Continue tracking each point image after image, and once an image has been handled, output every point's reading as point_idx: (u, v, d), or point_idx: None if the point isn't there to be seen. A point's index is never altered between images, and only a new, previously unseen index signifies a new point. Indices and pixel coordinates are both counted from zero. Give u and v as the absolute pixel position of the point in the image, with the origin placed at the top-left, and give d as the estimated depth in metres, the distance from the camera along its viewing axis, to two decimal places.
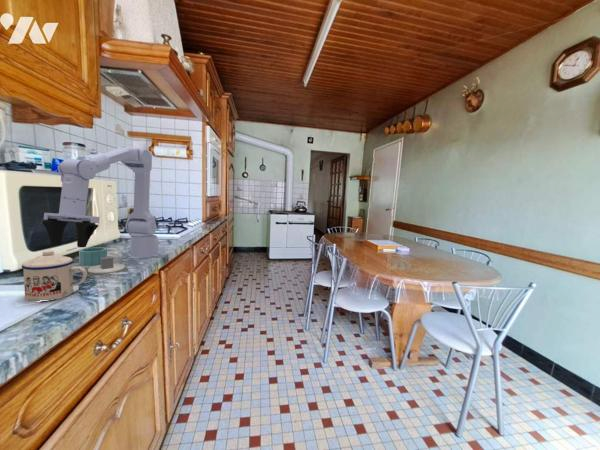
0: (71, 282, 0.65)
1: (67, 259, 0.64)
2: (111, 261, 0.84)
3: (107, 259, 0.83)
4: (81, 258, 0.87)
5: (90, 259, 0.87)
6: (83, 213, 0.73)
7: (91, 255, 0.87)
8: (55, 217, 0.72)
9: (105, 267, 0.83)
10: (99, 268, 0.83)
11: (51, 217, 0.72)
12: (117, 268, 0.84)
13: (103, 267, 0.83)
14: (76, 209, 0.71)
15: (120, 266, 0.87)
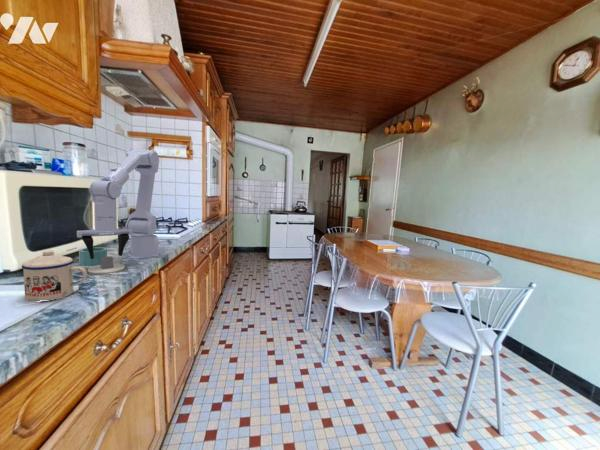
0: (71, 282, 0.65)
1: (67, 259, 0.64)
2: (111, 261, 0.84)
3: (107, 259, 0.83)
4: (81, 258, 0.87)
5: (90, 259, 0.87)
6: None
7: None
8: (88, 234, 0.80)
9: (105, 267, 0.83)
10: (99, 268, 0.83)
11: (84, 234, 0.79)
12: (117, 268, 0.84)
13: (103, 267, 0.83)
14: (115, 225, 0.84)
15: (120, 266, 0.87)
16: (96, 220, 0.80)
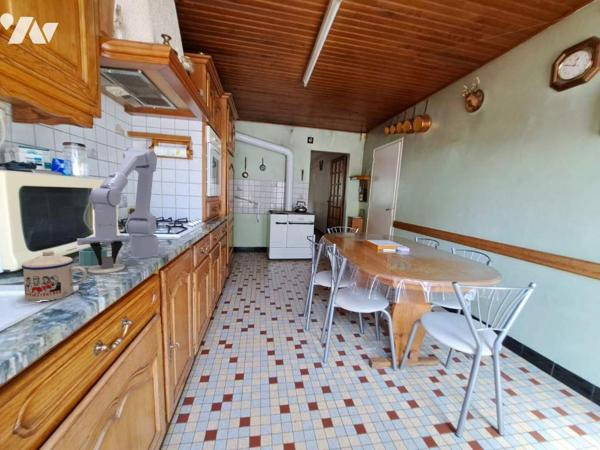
0: (71, 282, 0.65)
1: (67, 259, 0.64)
2: (111, 261, 0.84)
3: (107, 259, 0.83)
4: (81, 258, 0.87)
5: (90, 259, 0.87)
6: None
7: (91, 255, 0.87)
8: (89, 241, 0.80)
9: (105, 267, 0.83)
10: (99, 268, 0.83)
11: (84, 242, 0.79)
12: (117, 268, 0.84)
13: (103, 267, 0.83)
14: (115, 232, 0.84)
15: (120, 266, 0.87)
16: (96, 228, 0.80)
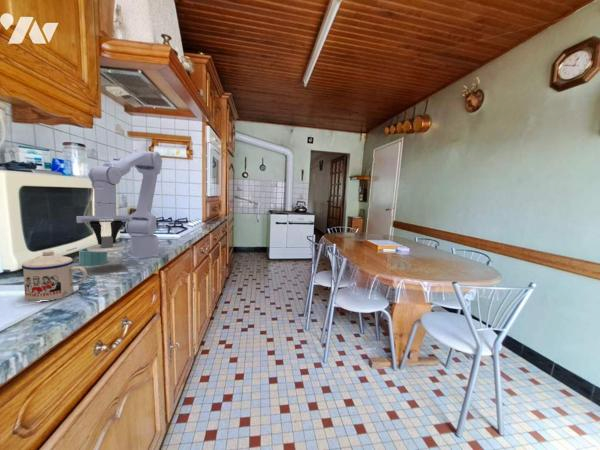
0: (71, 282, 0.65)
1: (67, 259, 0.64)
2: (111, 240, 0.83)
3: (107, 238, 0.82)
4: (81, 258, 0.87)
5: (90, 259, 0.87)
6: None
7: (91, 255, 0.87)
8: (88, 220, 0.79)
9: (105, 246, 0.82)
10: (99, 247, 0.82)
11: (83, 220, 0.78)
12: (117, 248, 0.83)
13: (103, 246, 0.82)
14: (115, 211, 0.83)
15: (120, 246, 0.86)
16: (96, 206, 0.80)
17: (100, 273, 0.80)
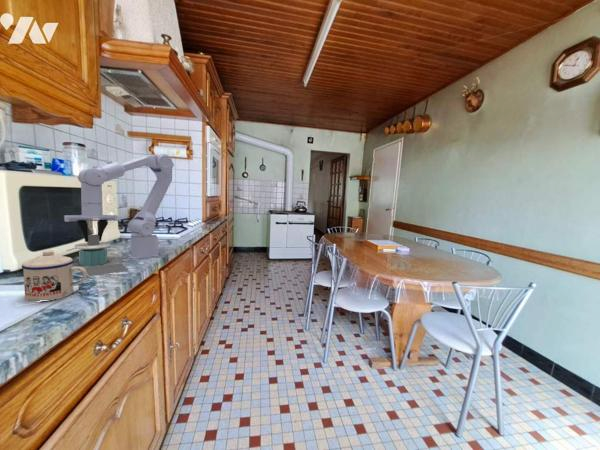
0: (71, 282, 0.65)
1: (67, 259, 0.64)
2: (97, 238, 0.89)
3: (93, 236, 0.88)
4: (81, 258, 0.87)
5: (90, 259, 0.87)
6: None
7: (91, 255, 0.87)
8: (75, 219, 0.85)
9: (91, 244, 0.88)
10: (86, 245, 0.88)
11: (71, 219, 0.84)
12: (103, 245, 0.89)
13: (89, 244, 0.88)
14: (101, 211, 0.89)
15: (106, 244, 0.92)
16: (82, 206, 0.86)
17: (100, 273, 0.80)
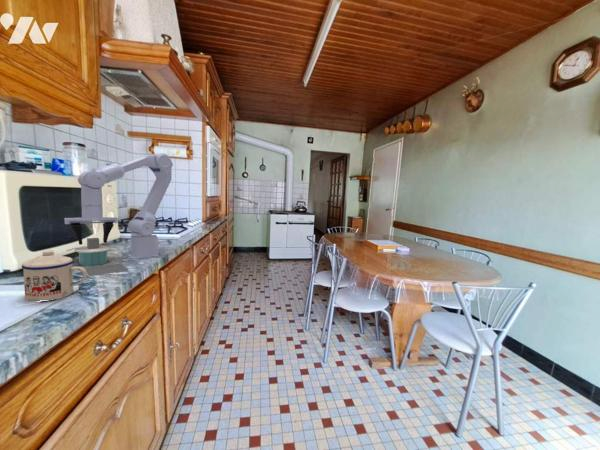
0: (71, 282, 0.65)
1: (67, 259, 0.64)
2: (97, 242, 0.89)
3: (93, 240, 0.88)
4: (81, 258, 0.87)
5: (90, 259, 0.87)
6: None
7: (91, 255, 0.87)
8: (75, 221, 0.85)
9: (91, 247, 0.88)
10: (86, 248, 0.88)
11: (71, 221, 0.84)
12: (103, 248, 0.90)
13: (89, 247, 0.88)
14: (101, 213, 0.89)
15: (106, 247, 0.92)
16: (83, 208, 0.86)
17: (100, 273, 0.80)
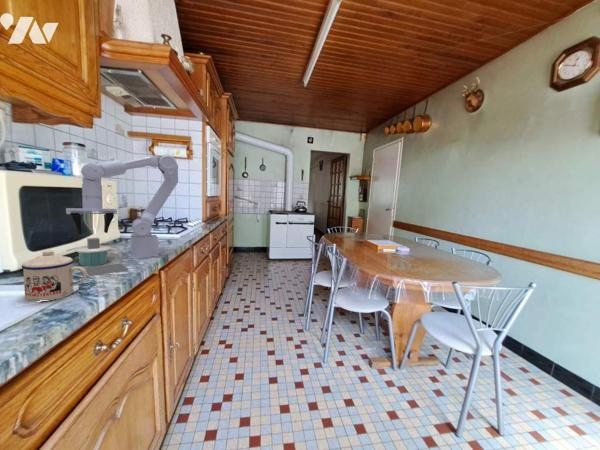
0: (71, 282, 0.65)
1: (67, 259, 0.64)
2: (97, 242, 0.89)
3: (93, 240, 0.89)
4: (81, 258, 0.87)
5: (90, 259, 0.87)
6: None
7: (91, 255, 0.87)
8: (76, 211, 0.90)
9: (92, 247, 0.88)
10: (86, 248, 0.88)
11: (72, 212, 0.89)
12: (103, 248, 0.90)
13: (90, 247, 0.88)
14: (101, 205, 0.94)
15: (106, 247, 0.92)
16: (83, 199, 0.90)
17: (100, 273, 0.80)
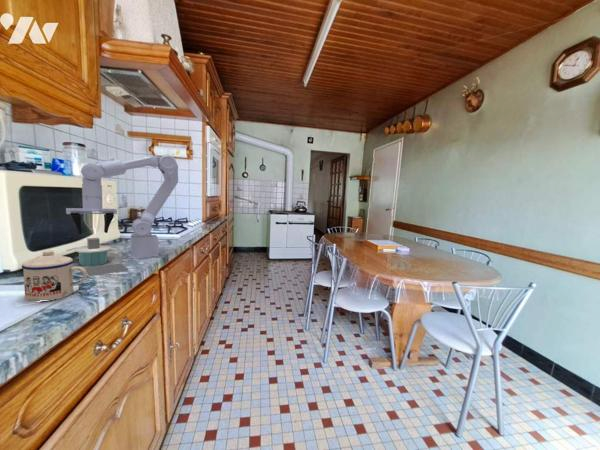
0: (71, 282, 0.65)
1: (67, 259, 0.64)
2: (97, 242, 0.89)
3: (93, 240, 0.89)
4: (81, 258, 0.87)
5: (90, 259, 0.87)
6: None
7: (91, 255, 0.87)
8: (76, 211, 0.90)
9: (92, 247, 0.88)
10: (86, 248, 0.88)
11: (72, 212, 0.89)
12: (103, 248, 0.90)
13: (90, 247, 0.88)
14: (101, 205, 0.94)
15: (106, 247, 0.92)
16: (83, 199, 0.90)
17: (100, 273, 0.80)
